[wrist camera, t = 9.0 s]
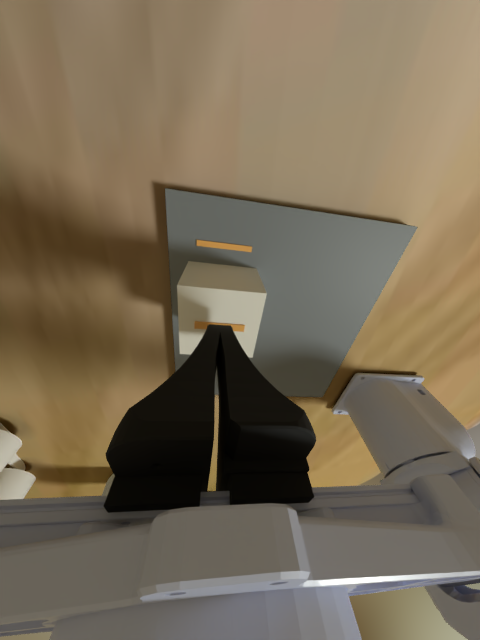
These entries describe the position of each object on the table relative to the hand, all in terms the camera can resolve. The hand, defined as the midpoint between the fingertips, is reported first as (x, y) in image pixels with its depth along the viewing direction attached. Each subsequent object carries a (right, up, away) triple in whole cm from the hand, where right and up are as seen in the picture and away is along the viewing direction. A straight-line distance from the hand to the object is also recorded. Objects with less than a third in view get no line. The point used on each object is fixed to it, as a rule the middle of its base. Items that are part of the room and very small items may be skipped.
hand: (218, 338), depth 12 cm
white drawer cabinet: (0, +3, +5) cm, 6 cm away
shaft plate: (+4, +1, +8) cm, 9 cm away
